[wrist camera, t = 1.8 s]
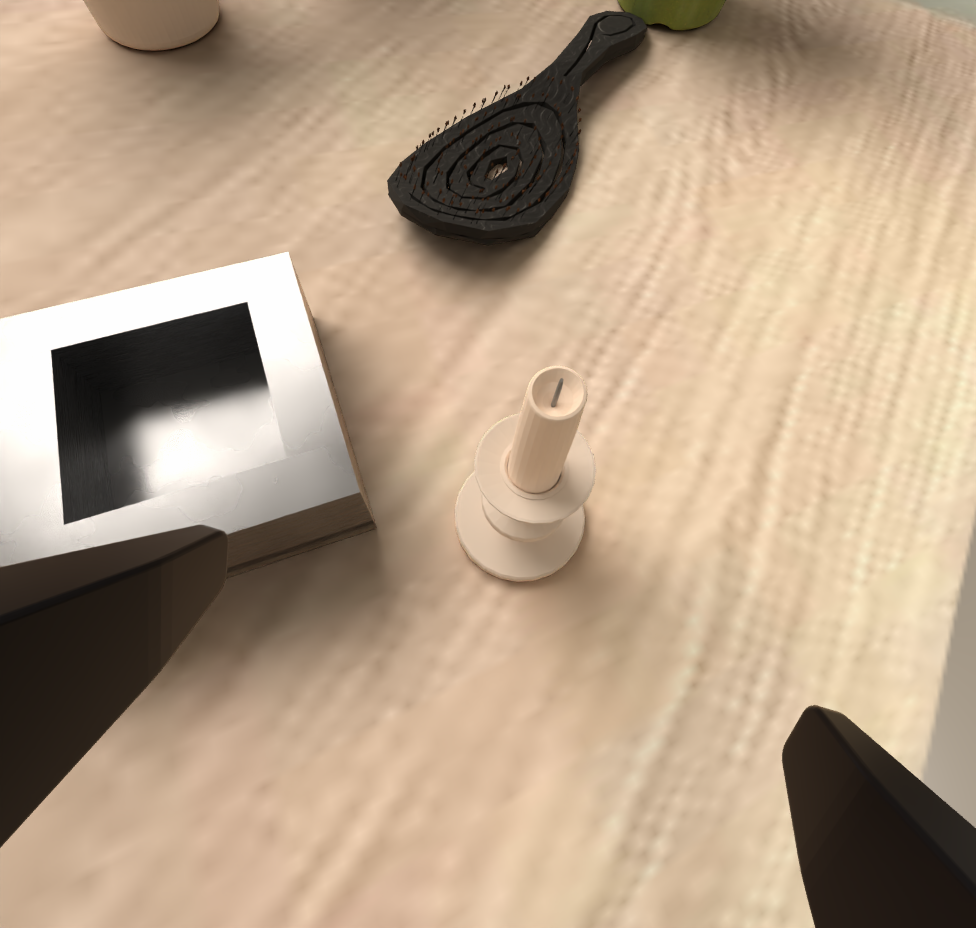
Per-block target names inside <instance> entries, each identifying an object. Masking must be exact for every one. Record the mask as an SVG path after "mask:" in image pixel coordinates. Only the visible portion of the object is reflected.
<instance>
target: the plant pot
mask: <svg viewBox="0 0 976 928" xmlns="http://www.w3.org/2000/svg"><path fill="white" fill-rule="evenodd" d="M725 1H726V0H618V2H619V4H620V6H621V7H622V8H623V9H624V11H625V12H629V13H631V14H634V15H636V16H638V17H640V18H642V19H643V21H644V23H645V24H648V25H651V24H654V23H661V24H664V25H666V26H668V27H669V28H671V29H672V30H687V29H692V28H697V27H700V26H703V25H705V24H707V23H709V22H710V21H712V20H713V19H714V18H715V17H716V16H717V15H718V14H719V12H720V10H721V8H722V6H723V5H724V3H725Z"/></svg>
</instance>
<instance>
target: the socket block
mask: <svg viewBox="0 0 976 928" xmlns="http://www.w3.org/2000/svg"><path fill="white" fill-rule="evenodd" d="M199 524H201V525H207V526H210V527H213V528H217V529H220V530H223V531H225V532H226V534H227V535H228V559H227V575H226V578H228V577H231V576H234V575H237V574H240V573H243V572H246V571H249V570H252V569H255V568H258V567H261V566H264V565H267V564H270V563H273V562H276V561H279V560H282V559H285V558H288V557H291V556H294V555H297V554H300V553H303V552H306V551H309V550H312V549H315V548H318V547H321V546H324V545H327V544H330V543H333V542H336V541H339V540H342V539H345V538H349V537H352V536H355V535H358V534H361V533H364V532H367V531H370V530H373V529H376V528H377V527H376V524H375V520H374V517H373V514H372V510H371V507H370V504H369V501H368V497H367V494H366V491H365V487H364V484H363V481H362V477H361V474H360V471H359V468H358V464H357V461H356V458H355V454H354V451H353V448H352V445H351V441H350V438H349V435H348V431H347V428H346V425H345V421H344V418H343V415H342V412H341V408H340V405H339V402H338V398H337V395H336V392H335V389H334V385H333V382H332V379H331V375H330V372H329V369H328V365H327V362H326V359H325V356H324V352H323V349H322V346H321V342H320V339H319V336H318V332H317V329H316V326H315V323H314V319H313V316H312V313H311V311H310V308H309V305H308V303H307V300H306V298H305V295H304V292H303V290H302V287H301V284H300V282H299V279H298V276H297V274H296V271H295V269H294V266H293V263H292V261H291V258H290V255H289V253H288V252H285V253H281V254H277V255H272V256H268V257H264V258H259V259H255V260H251V261H247V262H242V263H238V264H234V265H229V266H225V267H221V268H216V269H212V270H208V271H204V272H199V273H195V274H191V275H186V276H182V277H178V278H174V279H169V280H165V281H161V282H156V283H152V284H148V285H143V286H139V287H135V288H131V289H126V290H122V291H118V292H113V293H109V294H105V295H101V296H96V297H92V298H88V299H83V300H79V301H75V302H70V303H66V304H62V305H58V306H53V307H49V308H45V309H40V310H36V311H32V312H27V313H23V314H19V315H15V316H10V317H6V318H2V319H0V567H2V566H7V565H12V564H16V563H21V562H26V561H30V560H35V559H40V558H44V557H49V556H54V555H58V554H63V553H68V552H72V551H77V550H82V549H86V548H91V547H96V546H100V545H105V544H110V543H114V542H119V541H124V540H128V539H133V538H138V537H143V536H147V535H152V534H157V533H161V532H166V531H171V530H175V529H180V528H185V527H189V526H194V525H199Z"/></svg>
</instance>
